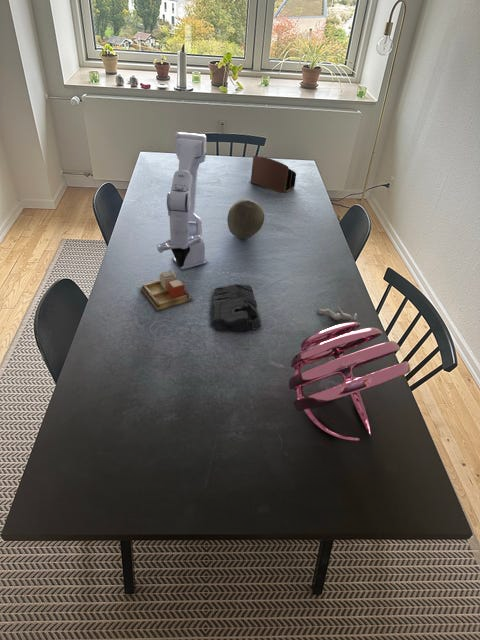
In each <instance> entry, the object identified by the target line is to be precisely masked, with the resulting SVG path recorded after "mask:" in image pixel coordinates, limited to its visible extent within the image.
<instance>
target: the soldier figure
mask: <svg viewBox="0 0 480 640" xmlns="http://www.w3.org/2000/svg"><path fill="white" fill-rule="evenodd" d="M336 309H337V310H338V312H337V313H335V312H334V311H332V310H331V309H329V308H327V309H322V308H321V307H320V305H319V306H318V307H317V313H319V315H328V316H329V317H330V318H331V319H332V320H334V321H341V320H343V321H350V320H352V321H351V322H357V320H358V313H356V312H355V314H349V313H344V311H343V310H341V308H340V306H339V305H337V306H336Z"/></svg>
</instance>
